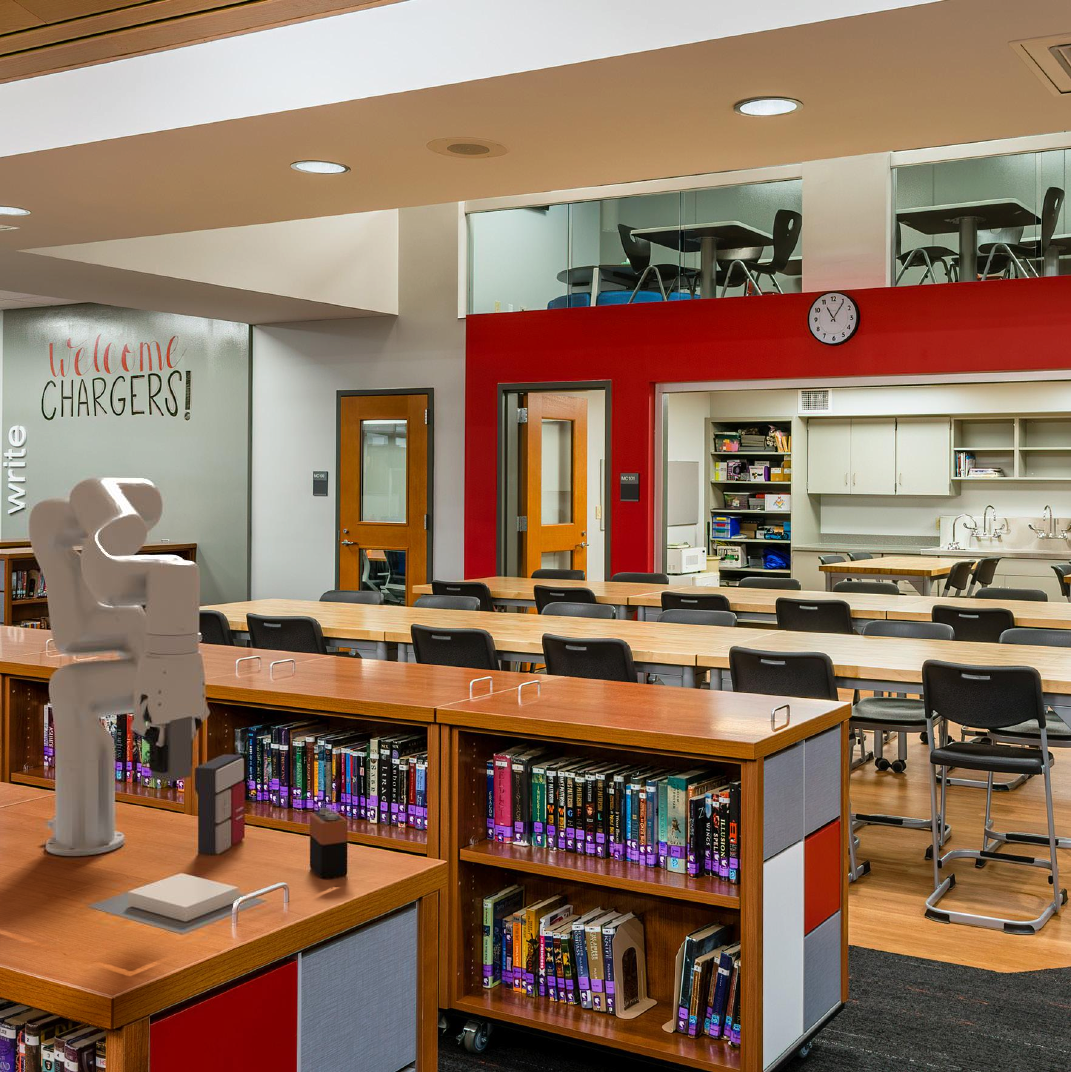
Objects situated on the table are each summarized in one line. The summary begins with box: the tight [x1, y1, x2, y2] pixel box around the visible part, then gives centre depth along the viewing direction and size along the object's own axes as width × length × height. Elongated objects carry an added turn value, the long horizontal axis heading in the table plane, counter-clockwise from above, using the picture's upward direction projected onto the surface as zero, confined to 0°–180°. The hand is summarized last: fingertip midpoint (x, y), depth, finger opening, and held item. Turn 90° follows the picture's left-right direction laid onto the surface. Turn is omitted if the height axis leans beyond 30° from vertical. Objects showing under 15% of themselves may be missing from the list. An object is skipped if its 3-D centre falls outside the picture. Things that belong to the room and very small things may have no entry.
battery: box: [309, 807, 349, 880], centre depth 189 cm, size 4×7×10 cm, turn 28°
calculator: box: [194, 753, 246, 856], centre depth 202 cm, size 11×4×15 cm, turn 168°
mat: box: [86, 891, 267, 935], centre depth 173 cm, size 20×16×1 cm
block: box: [150, 716, 193, 783], centre depth 173 cm, size 4×4×9 cm
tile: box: [127, 872, 239, 922], centre depth 172 cm, size 2×10×12 cm
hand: (170, 766), depth 173 cm, fingers closed on block, 4 cm apart
